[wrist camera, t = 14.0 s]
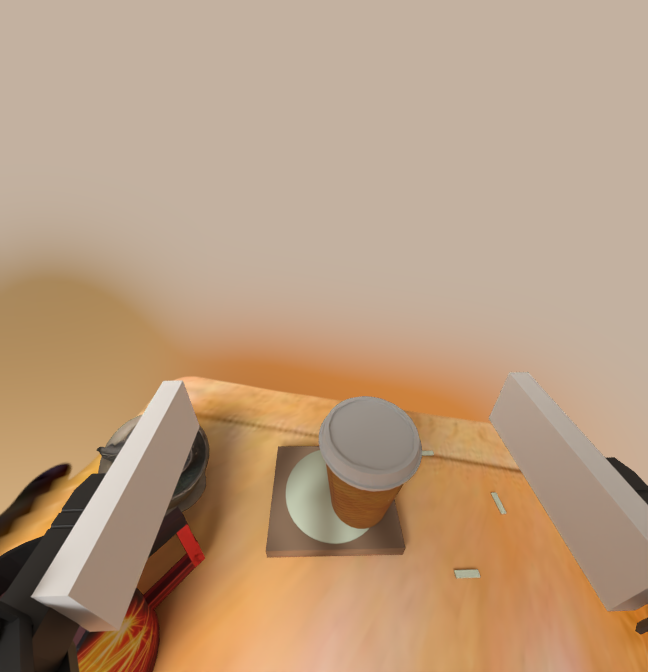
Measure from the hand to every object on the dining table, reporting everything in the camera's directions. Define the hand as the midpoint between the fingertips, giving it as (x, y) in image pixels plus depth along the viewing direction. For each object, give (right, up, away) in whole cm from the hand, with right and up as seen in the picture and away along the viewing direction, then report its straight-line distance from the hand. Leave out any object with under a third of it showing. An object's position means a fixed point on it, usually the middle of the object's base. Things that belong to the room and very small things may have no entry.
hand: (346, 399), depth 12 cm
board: (0, -17, +23) cm, 28 cm away
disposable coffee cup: (+3, -16, +21) cm, 27 cm away
